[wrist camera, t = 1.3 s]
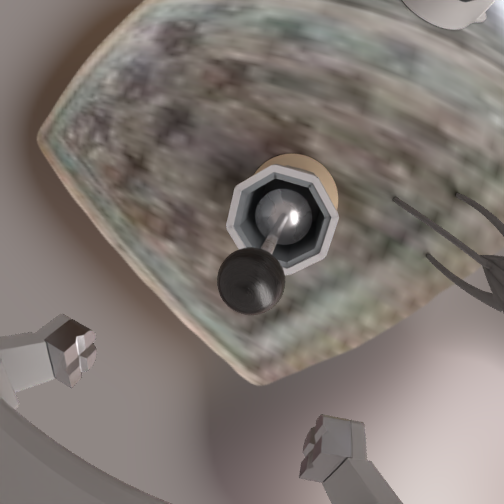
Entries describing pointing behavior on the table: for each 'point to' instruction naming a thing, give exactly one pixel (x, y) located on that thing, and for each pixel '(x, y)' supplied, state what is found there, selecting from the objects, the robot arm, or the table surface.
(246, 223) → the grey octagonal cup
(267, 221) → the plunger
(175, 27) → the table surface
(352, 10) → the table surface
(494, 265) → the citrus juicer
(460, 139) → the table surface
